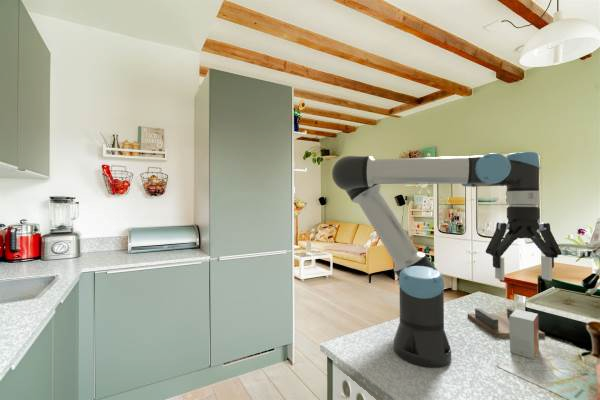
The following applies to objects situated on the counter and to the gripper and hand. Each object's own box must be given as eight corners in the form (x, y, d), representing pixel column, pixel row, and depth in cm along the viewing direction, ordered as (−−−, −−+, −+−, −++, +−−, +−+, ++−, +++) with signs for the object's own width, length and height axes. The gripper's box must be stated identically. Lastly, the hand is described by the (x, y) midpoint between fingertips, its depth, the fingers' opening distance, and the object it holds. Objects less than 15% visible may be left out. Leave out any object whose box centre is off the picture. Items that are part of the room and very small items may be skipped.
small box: (534, 360, 77) (533, 321, 77) (509, 352, 81) (508, 315, 82) (539, 350, 83) (538, 313, 83) (515, 343, 87) (515, 308, 87)
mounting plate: (496, 337, 90) (496, 323, 90) (467, 317, 106) (467, 305, 106) (544, 337, 90) (544, 323, 90) (508, 317, 106) (508, 305, 106)
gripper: (488, 206, 79) (488, 282, 79) (578, 206, 79) (578, 282, 79) (472, 205, 87) (472, 275, 86) (554, 205, 86) (554, 276, 86)
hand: (523, 279), depth 83 cm, fingers open, 13 cm apart
